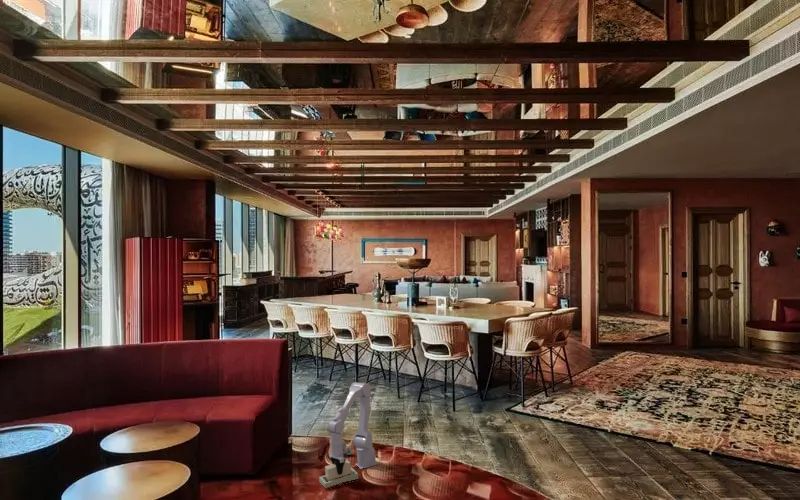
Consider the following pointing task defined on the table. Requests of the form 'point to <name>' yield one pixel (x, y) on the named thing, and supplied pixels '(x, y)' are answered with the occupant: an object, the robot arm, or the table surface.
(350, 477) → the rack
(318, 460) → the table surface
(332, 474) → the beige rectangular block
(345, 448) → the chubby cartoon animal
